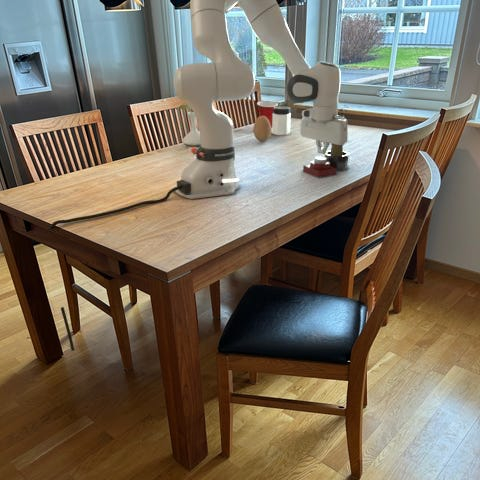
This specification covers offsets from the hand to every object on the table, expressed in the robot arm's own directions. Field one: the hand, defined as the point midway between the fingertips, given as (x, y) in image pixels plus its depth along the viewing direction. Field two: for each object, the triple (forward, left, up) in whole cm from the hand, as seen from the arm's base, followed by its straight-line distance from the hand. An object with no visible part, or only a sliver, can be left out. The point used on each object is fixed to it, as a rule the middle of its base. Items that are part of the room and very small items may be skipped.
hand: (321, 153), depth 179 cm
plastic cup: (+28, +81, -8) cm, 86 cm away
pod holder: (+10, +3, -7) cm, 12 cm away
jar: (+26, +65, -8) cm, 70 cm away
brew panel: (0, +1, -7) cm, 7 cm away
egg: (+9, +56, -8) cm, 57 cm away
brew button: (0, +1, -4) cm, 4 cm away
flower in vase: (-21, +68, -8) cm, 71 cm away
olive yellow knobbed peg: (+10, +3, -7) cm, 12 cm away
